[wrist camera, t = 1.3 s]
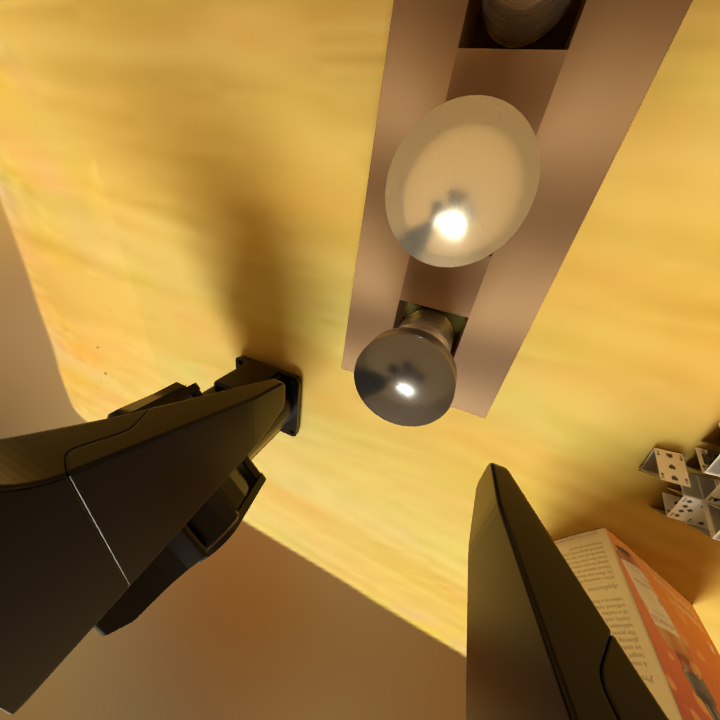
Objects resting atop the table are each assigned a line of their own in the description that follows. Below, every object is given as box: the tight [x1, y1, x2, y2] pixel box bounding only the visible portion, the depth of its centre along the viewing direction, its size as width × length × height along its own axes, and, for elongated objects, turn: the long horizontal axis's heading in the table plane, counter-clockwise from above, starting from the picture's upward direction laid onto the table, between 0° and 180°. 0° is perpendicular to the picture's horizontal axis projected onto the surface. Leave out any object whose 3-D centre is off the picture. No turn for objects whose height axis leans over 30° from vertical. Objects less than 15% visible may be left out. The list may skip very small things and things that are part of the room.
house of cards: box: [639, 422, 720, 541], centre depth 13 cm, size 9×9×8 cm
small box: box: [554, 528, 720, 720], centre depth 17 cm, size 8×6×10 cm
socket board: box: [342, 0, 693, 418], centre depth 13 cm, size 20×9×4 cm, turn 170°
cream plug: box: [385, 95, 540, 267], centre depth 10 cm, size 4×4×6 cm
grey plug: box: [354, 309, 457, 426], centre depth 13 cm, size 4×4×6 cm
